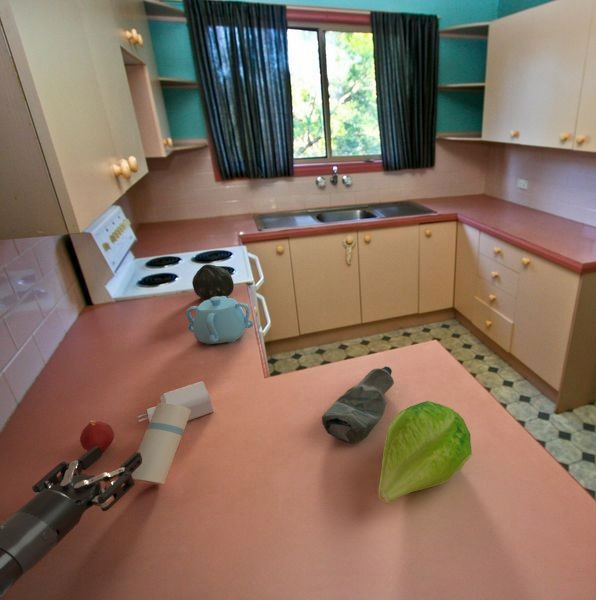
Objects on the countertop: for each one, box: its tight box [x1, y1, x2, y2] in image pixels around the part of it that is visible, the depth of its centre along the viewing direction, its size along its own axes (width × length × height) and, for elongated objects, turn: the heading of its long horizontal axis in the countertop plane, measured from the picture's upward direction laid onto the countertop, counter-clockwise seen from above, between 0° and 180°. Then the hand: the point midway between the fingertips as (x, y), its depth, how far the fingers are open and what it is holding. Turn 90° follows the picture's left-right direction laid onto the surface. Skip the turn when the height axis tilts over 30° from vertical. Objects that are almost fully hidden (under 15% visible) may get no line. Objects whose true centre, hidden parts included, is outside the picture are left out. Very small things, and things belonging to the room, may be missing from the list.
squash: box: [191, 263, 235, 302], centre depth 165 cm, size 14×15×15 cm
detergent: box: [321, 366, 395, 444], centre depth 99 cm, size 13×7×25 cm
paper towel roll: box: [132, 402, 191, 486], centre depth 82 cm, size 6×6×14 cm
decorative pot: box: [185, 296, 254, 345], centre depth 134 cm, size 16×16×14 cm
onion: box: [79, 420, 115, 453], centre depth 89 cm, size 6×6×8 cm
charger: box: [137, 380, 214, 423], centre depth 100 cm, size 5×9×15 cm
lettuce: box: [378, 400, 473, 504], centre depth 79 cm, size 15×22×15 cm
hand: (119, 453), depth 77 cm, fingers open, 8 cm apart
